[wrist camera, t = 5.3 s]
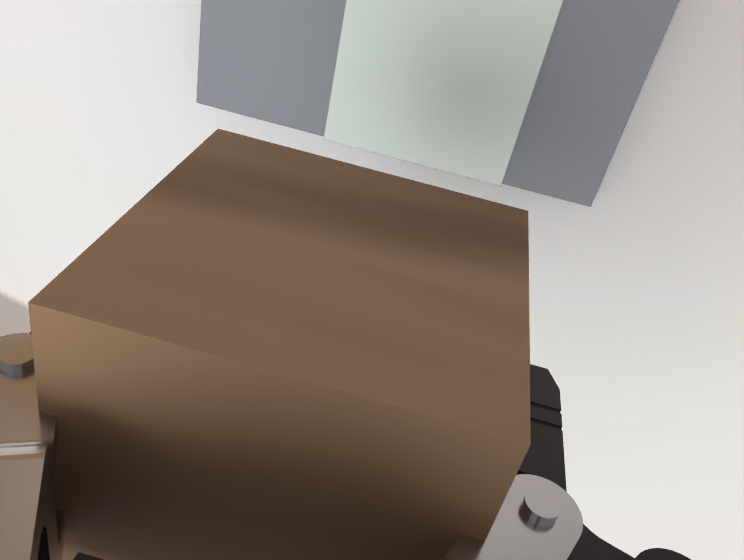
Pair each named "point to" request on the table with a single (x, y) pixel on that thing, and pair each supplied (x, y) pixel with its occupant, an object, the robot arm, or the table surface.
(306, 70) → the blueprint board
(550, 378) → the robot arm
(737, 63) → the table surface
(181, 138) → the table surface
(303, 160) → the walnut block
